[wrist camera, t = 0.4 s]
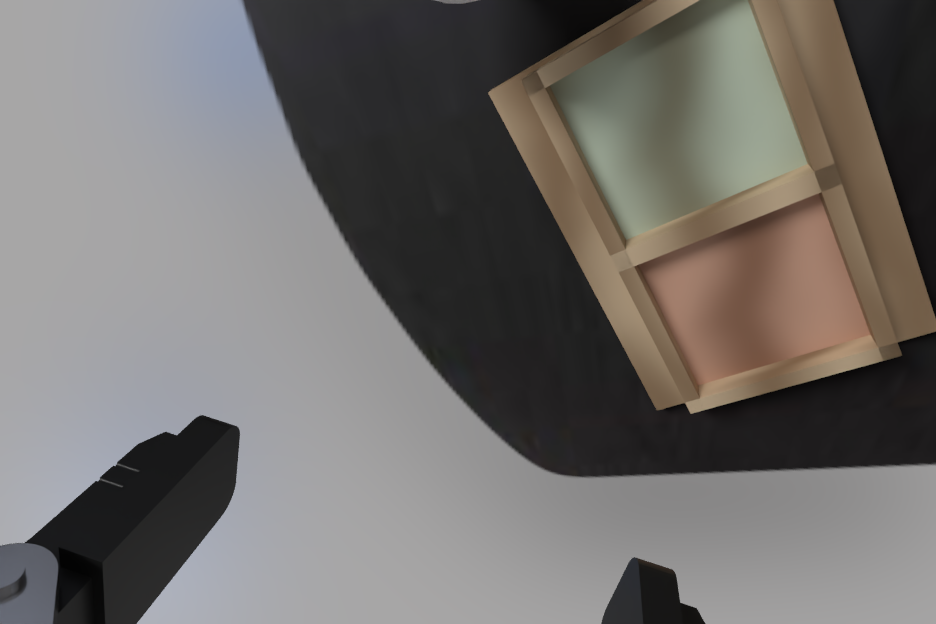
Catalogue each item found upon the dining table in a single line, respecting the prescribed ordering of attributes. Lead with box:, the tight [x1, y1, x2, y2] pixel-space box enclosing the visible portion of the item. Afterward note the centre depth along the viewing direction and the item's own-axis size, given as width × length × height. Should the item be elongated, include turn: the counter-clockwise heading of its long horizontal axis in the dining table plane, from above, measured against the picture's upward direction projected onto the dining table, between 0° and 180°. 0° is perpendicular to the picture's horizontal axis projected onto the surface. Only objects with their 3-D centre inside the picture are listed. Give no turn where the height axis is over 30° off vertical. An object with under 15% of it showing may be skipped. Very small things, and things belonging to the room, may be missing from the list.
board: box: [488, 0, 936, 414], centre depth 29 cm, size 14×20×2 cm
